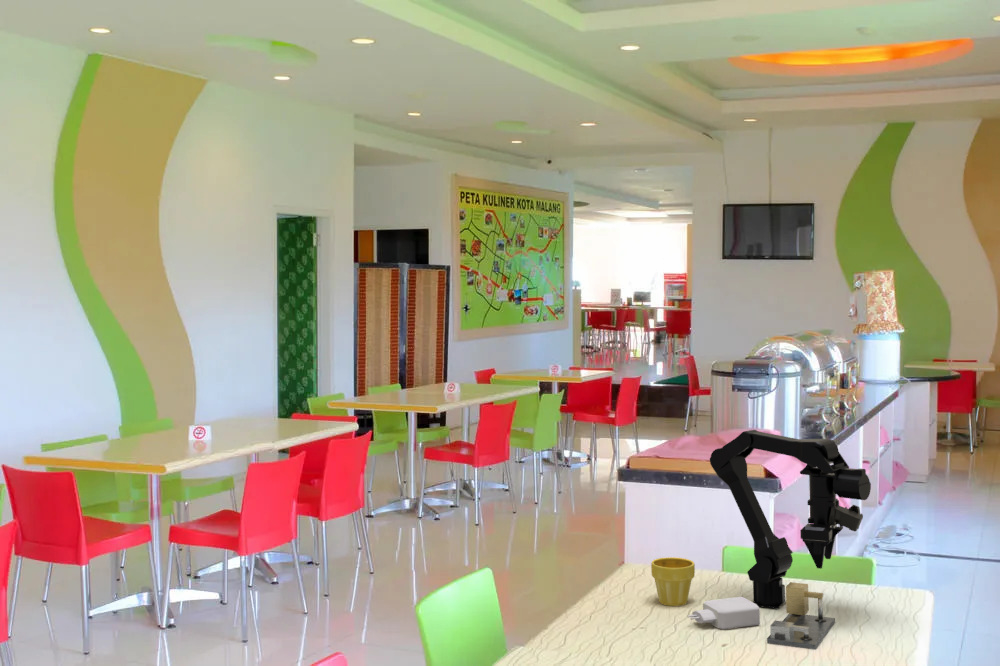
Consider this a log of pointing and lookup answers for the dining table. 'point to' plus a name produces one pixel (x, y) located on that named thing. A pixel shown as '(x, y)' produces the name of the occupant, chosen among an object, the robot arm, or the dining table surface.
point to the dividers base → (800, 631)
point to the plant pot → (673, 579)
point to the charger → (728, 613)
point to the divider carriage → (801, 599)
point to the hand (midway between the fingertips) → (823, 563)
